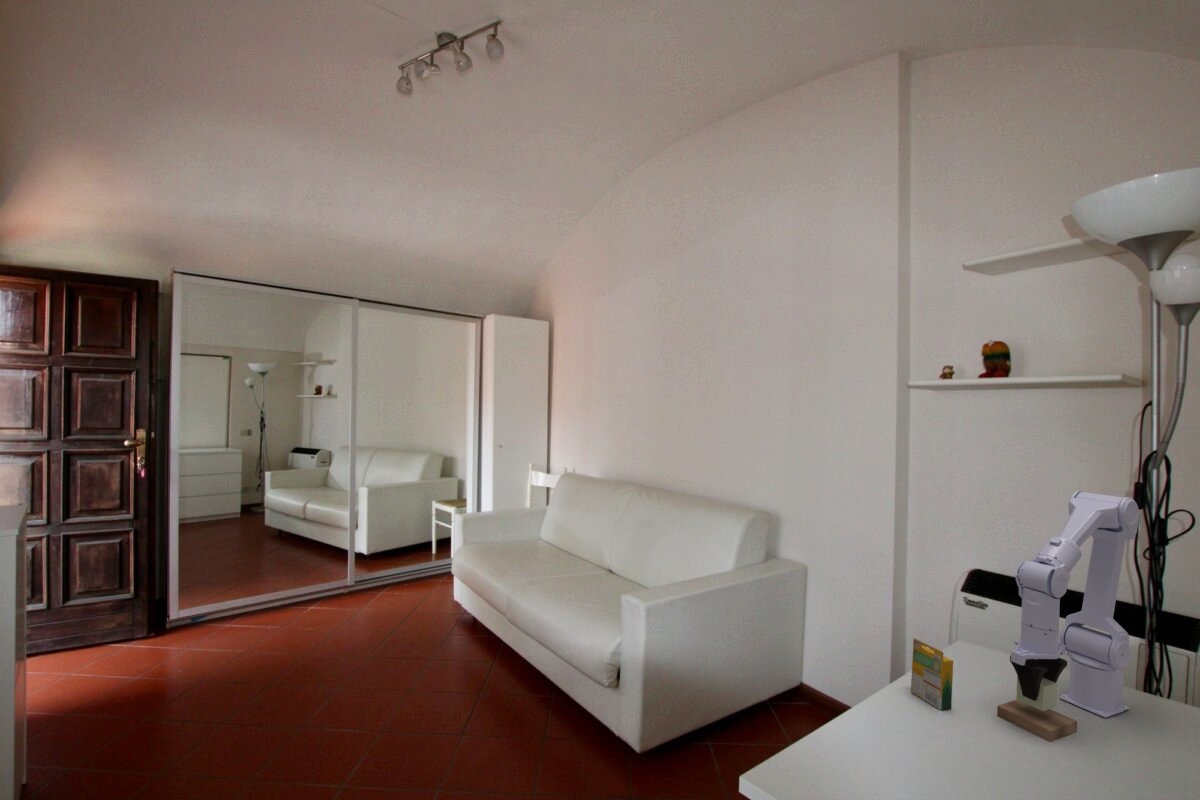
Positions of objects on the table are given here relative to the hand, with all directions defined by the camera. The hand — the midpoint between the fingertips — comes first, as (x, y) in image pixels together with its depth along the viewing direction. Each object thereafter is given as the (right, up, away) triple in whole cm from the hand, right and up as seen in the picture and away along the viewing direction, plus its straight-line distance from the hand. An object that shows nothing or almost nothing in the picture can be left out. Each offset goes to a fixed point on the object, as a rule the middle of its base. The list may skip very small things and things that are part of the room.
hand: (1037, 695), depth 106 cm
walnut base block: (0, -6, 0) cm, 6 cm away
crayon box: (-17, -5, +7) cm, 19 cm away
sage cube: (0, -2, 0) cm, 2 cm away
